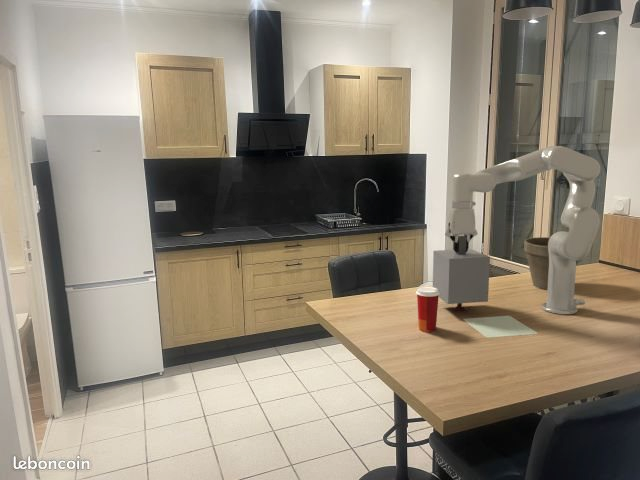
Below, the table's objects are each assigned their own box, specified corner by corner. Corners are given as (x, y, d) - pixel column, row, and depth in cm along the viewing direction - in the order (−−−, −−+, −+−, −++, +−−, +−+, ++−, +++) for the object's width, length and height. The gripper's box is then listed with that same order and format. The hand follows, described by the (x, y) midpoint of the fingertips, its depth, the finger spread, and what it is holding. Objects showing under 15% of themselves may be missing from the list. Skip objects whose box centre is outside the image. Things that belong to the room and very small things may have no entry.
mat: (509, 316, 176) (509, 315, 176) (538, 334, 157) (538, 333, 157) (462, 319, 174) (462, 318, 174) (486, 338, 155) (486, 337, 155)
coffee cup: (439, 326, 168) (440, 287, 165) (437, 334, 160) (438, 293, 158) (416, 324, 171) (417, 285, 168) (413, 332, 163) (414, 291, 160)
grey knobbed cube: (469, 290, 192) (471, 232, 188) (487, 301, 176) (490, 238, 172) (432, 292, 190) (433, 233, 186) (448, 304, 174) (449, 240, 170)
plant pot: (592, 293, 202) (596, 245, 198) (536, 294, 203) (539, 247, 199) (563, 279, 227) (566, 236, 223) (513, 280, 227) (515, 237, 223)
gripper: (477, 203, 182) (475, 249, 185) (438, 205, 180) (437, 250, 183) (486, 205, 174) (484, 252, 178) (446, 207, 172) (444, 254, 176)
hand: (460, 251), depth 180 cm, fingers closed on grey knobbed cube, 3 cm apart
